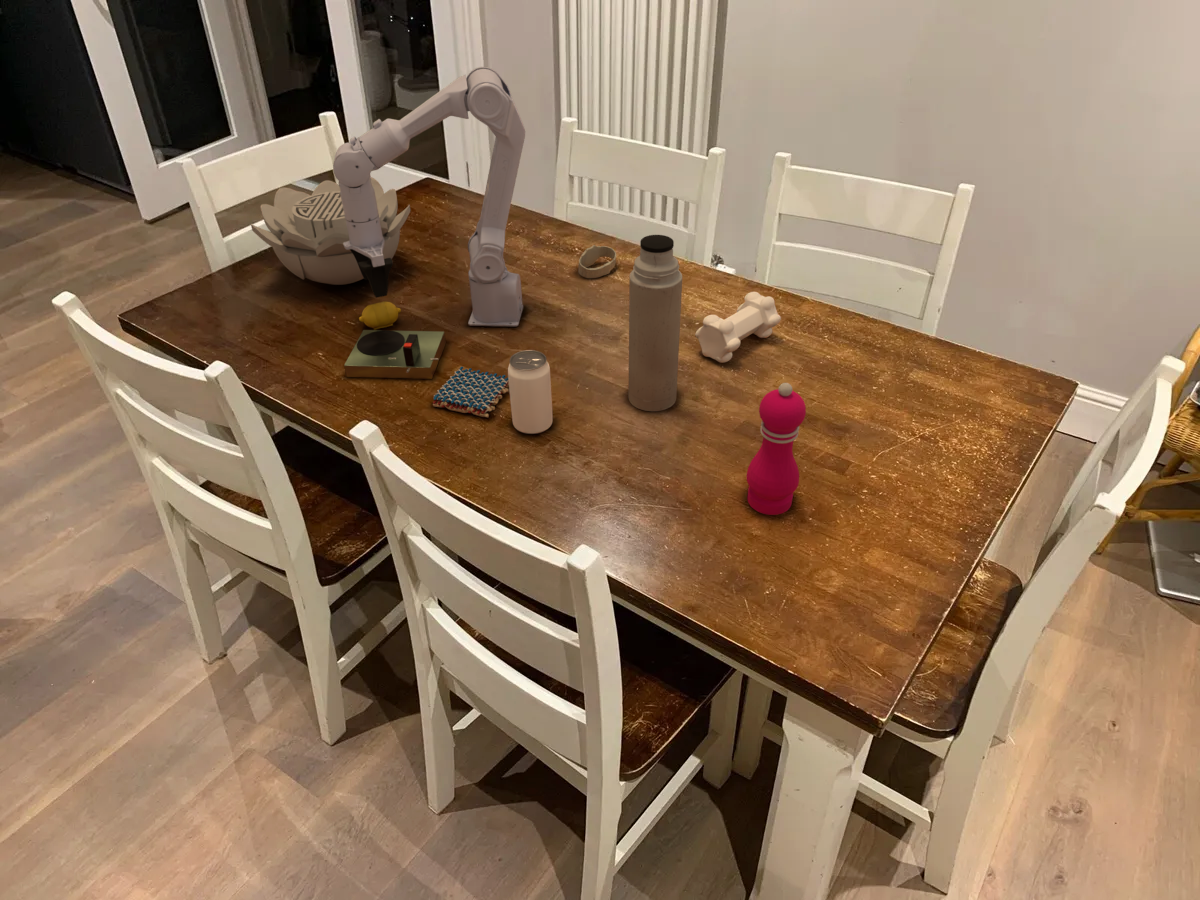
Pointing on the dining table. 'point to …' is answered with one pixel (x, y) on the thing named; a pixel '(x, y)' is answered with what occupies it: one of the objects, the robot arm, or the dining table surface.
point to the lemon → (380, 315)
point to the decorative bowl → (323, 231)
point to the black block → (411, 349)
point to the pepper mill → (776, 452)
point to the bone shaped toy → (737, 326)
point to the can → (530, 392)
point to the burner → (380, 343)
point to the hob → (398, 359)
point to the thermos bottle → (654, 325)
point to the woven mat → (471, 392)
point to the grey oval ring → (591, 256)
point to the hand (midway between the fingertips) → (375, 286)
